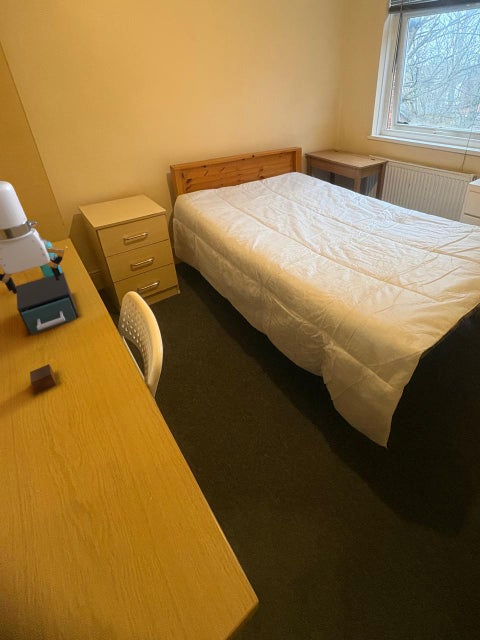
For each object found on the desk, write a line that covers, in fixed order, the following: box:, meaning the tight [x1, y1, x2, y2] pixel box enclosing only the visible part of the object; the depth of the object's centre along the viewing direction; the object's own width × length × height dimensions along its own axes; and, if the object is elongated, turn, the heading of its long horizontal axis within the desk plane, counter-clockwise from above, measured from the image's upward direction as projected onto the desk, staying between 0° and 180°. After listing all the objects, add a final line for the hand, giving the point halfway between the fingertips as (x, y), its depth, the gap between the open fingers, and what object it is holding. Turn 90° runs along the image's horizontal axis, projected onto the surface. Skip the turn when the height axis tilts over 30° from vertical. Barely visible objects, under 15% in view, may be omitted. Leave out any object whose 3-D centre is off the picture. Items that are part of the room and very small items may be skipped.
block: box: [29, 363, 57, 394], centre depth 80 cm, size 4×4×4 cm
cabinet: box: [15, 272, 79, 335], centre depth 102 cm, size 15×13×10 cm
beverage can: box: [39, 238, 63, 278], centre depth 119 cm, size 6×6×15 cm
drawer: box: [21, 296, 77, 336], centre depth 99 cm, size 18×11×8 cm, turn 39°
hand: (37, 284), depth 90 cm, fingers open, 9 cm apart
